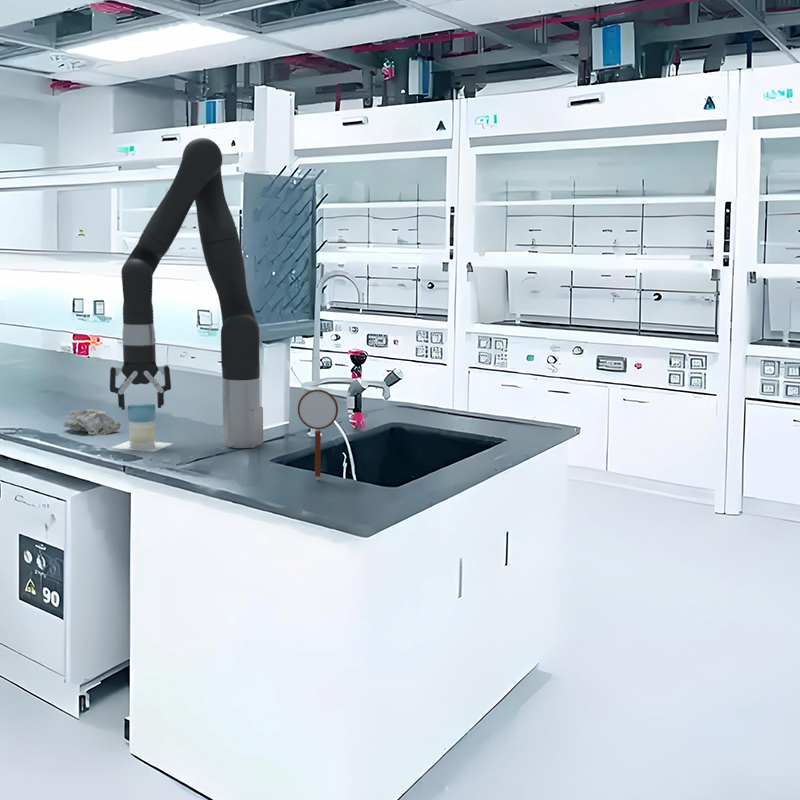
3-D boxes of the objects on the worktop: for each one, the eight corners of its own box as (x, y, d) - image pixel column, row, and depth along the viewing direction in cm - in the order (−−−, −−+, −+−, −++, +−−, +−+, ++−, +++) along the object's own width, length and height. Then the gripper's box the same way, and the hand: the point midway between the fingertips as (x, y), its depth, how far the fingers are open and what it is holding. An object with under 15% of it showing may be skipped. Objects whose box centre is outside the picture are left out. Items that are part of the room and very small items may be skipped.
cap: (160, 417, 213) (160, 403, 213) (146, 422, 207) (146, 408, 206) (137, 416, 215) (136, 402, 214) (123, 420, 209) (122, 406, 208)
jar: (160, 445, 214) (159, 417, 213) (147, 450, 208) (146, 422, 207) (138, 443, 216) (137, 416, 215) (124, 448, 210) (123, 420, 209)
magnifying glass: (297, 481, 185) (297, 389, 182) (298, 479, 187) (298, 388, 184) (337, 482, 185) (337, 390, 182) (338, 480, 187) (338, 389, 183)
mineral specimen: (54, 433, 227) (53, 408, 226) (72, 429, 234) (71, 404, 233) (103, 439, 222) (102, 413, 221) (121, 434, 229) (120, 409, 228)
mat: (173, 444, 217) (173, 443, 217) (153, 453, 208) (153, 451, 208) (131, 441, 220) (131, 439, 220) (110, 449, 211) (110, 447, 211)
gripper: (168, 340, 213) (169, 404, 216) (107, 341, 209) (110, 407, 211) (171, 343, 207) (172, 409, 209) (108, 344, 202) (111, 412, 204)
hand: (141, 408), depth 210 cm, fingers open, 8 cm apart
